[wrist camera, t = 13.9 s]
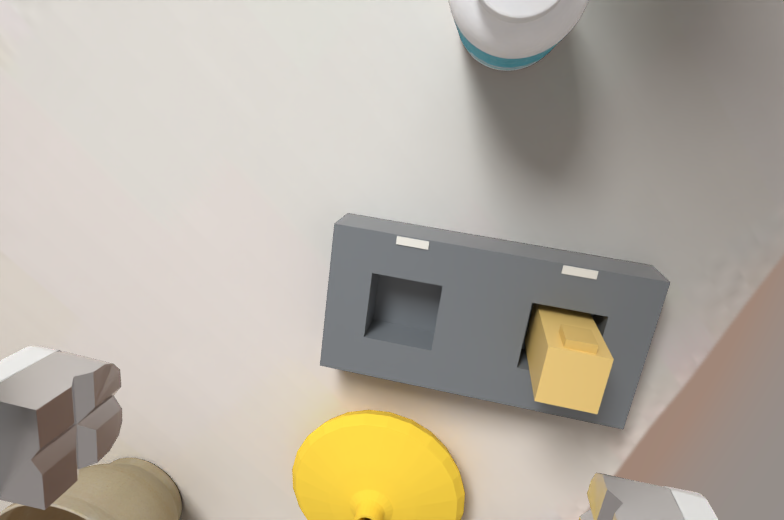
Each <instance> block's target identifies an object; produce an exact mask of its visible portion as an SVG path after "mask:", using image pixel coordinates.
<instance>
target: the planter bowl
mask: <svg viewBox="0 0 784 520" xmlns="http://www.w3.org/2000/svg"><path fill="white" fill-rule="evenodd" d="M181 511H182V502H181V497H180V494H179V491H178V489H177V487H176V485H175V484H174V482H173V481H172V480H171V478H170V477H169V476H168V475H167V474H166V473H165V472H164V471H162V470H161V469H160V468H158V467H157V466H155V465H153V464H152V463H150V462H147V461H145V460H141V459H137V458H122V459H118V460H116V461H113V462H112V463H110V464H99V465H93V466H88V467H84V468H81V469H79V474H78V481H77V482H75V483H74V484H73V485H72V486H71V487H70V488H69V489H68V490H67V491H66V492H64V493H63V494H62V495H61V496H60V497H59V498H58V499H57V500H56V501H55V502H53V503H52V504H51V505H50V506H49V507H48V508H47V509H46V510H42V509H38V508H34V507H29V506H25V505H21V504H17V503H13V504H12V505H10V506H8V507H7V508H6V509H4V510H3V511H2V512H0V520H179V518H180V516H181Z"/></svg>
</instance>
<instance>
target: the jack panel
mask: <svg viewBox="0 0 784 520" xmlns="http://www.w3.org/2000/svg"><path fill="white" fill-rule="evenodd" d="M669 285H670V282H669V281H668V280H667V279H666V278H665V277H664V276H663V275H662V274H661V273H660V272H659V271H658V270H657V269H656V268H655V267H653V266H652V265H647V264H641V263H635V262H629V261H624V260H618V259H612V258H606V257H600V256H595V255H589V254H583V253H577V252H571V251H565V250H560V249H554V248H548V247H542V246H536V245H530V244H525V243H519V242H513V241H507V240H501V239H496V238H490V237H484V236H478V235H472V234H466V233H461V232H455V231H449V230H443V229H437V228H431V227H426V226H420V225H414V224H408V223H402V222H397V221H391V220H385V219H379V218H373V217H367V216H362V215H356V214H350V213H347V214H346V215H345V216H344V217H342V218H341V219H340V220H338V221H337V222H336V223H335V224H334V233H333V243H332V252H331V262H330V272H329V282H328V291H327V301H326V311H325V321H324V331H323V340H322V350H321V360H320V366H325V367H330V368H335V369H339V370H344V371H349V372H354V373H358V374H363V375H368V376H373V377H377V378H382V379H387V380H392V381H396V382H401V383H406V384H411V385H415V386H420V387H425V388H429V389H434V390H439V391H444V392H448V393H453V394H458V395H463V396H467V397H472V398H477V399H482V400H486V401H491V402H496V403H501V404H505V405H510V406H515V407H520V408H524V409H529V410H534V411H539V412H543V413H548V414H553V415H557V416H562V417H567V418H572V419H576V420H581V421H586V422H591V423H595V424H600V425H605V426H610V427H614V428H619V429H624V425H625V422H626V419H627V416H628V413H629V410H630V407H631V404H632V400H633V397H634V394H635V391H636V388H637V385H638V382H639V379H640V375H641V372H642V369H643V366H644V363H645V360H646V357H647V353H648V350H649V347H650V344H651V341H652V338H653V335H654V332H655V328H656V325H657V322H658V319H659V316H660V313H661V310H662V307H663V303H664V300H665V297H666V294H667V291H668V288H669ZM534 303H537V304H542V305H547V306H553V307H558V308H564V309H569V310H574V311H580V312H585V313H590V314H591V316H592V318H593V320H594V322H595V324H596V326H597V328H598V330H599V331H600V333H601V335H602V337H603V339H604V341H605V343H606V345H607V347H608V349H609V351H610V353H611V355H612V357H613V359H614V360H613V364H612V367H611V370H610V374H609V377H608V380H607V384H606V387H605V390H604V394H603V397H602V400H601V404H600V407H599V410H598V414H594V413H589V412H584V411H579V410H574V409H570V408H565V407H560V406H555V405H551V404H546V403H541V402H536V401H534V395H533V389H532V383H531V377H530V371H529V365H528V360H527V354H526V348H525V337H526V333H527V329H528V325H529V321H530V316H531V312H532V308H533V304H534Z"/></svg>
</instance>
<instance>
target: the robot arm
mask: <svg viewBox="0 0 784 520" xmlns="http://www.w3.org/2000/svg"><path fill="white" fill-rule="evenodd" d="M120 388H121V376H120V369H119V368H118V367H116V366H115V365H114V364H113V363H109V362H105V361H101V360H97V359H93V358H89V357H85V356H81V355H77V354H73V353H69V352H62V351H60V350H56V349H52V348H47V347H43V346H28V347H26V348H24V349H22V350H20V351H18V352H16V353H14V354H12V355H10V356H8V357H6V358H4V359H2V360H0V500H4V501H8V502H12V503H17V504H21V505H25V506H29V507H34V508H38V509H42V510H46V509H47V508H48V507H49V506H50V505H51V504H52V503H53V502H55V501H56V500H57V499H58V498H59V497H60V496H61V495H62V494H63V493H64V492H66V491H67V490H68V489H69V488H70V487H71V486H72V485H73V484H74V483H75V482H77V481H78V474H79V469H81V468H84V467H87V466H89V465H92V464H94V463H97V462H98V461H99V460H100V459H102V458H103V457H104V456H105V455H106V454H107V453H108V452H109V451H110V449H111V448H112V446H113V444H114V442H115V441H116V439H117V437H118V435H119V432H120V428H121V424H122V408H121V406H120V405H119V403H118V402H117V400H116V398H115V397H114V395H115V394H116V392H117V391H118V390H119V389H120ZM587 495H588V499H589V503H590V507H591V509H590V510H589V511H587V512H586V513H584V514H583V515H581V516H580V518H579V520H718V518H717V517H716V515H715V513H714V511H713V510H712V508H711V506H710V504H709V503H708V501H707V499H706V498H705V497H704V496H702V495H701V494H700V493H698V492H692V491H687V490H682V489H677V488H672V487H667V486H664V487H662V486H657V485H652V484H648V483H643V482H639V481H634V480H629V479H624V478H619V477H615V476H610V475H606V474H601V473H596V474H595V475H594V477H593V478H592V480H591V483H590V486H589V489H588V492H587Z"/></svg>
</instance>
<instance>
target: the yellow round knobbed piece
mask: <svg viewBox="0 0 784 520" xmlns="http://www.w3.org/2000/svg"><path fill="white" fill-rule="evenodd" d="M292 472H293V489H294V492H295V495H296V498H297V501H298V504H299V507H300V508H301V510H302V512H303V513H304V515H305V517H306V518H307V520H461V517H462V515H463V512H464V498H465V492H464V488H463V484H462V480H461V475H460V472H459V470H458V468H457V465H456V464H455V462H454V460H453V458H452V457H451V455H450V453H449V451H448V450H447V448H446V447H445V446H444V445H443V444H442V443H441V442H440V441H439V440H438V439H437V438H436V436H435V435H434V434H433V433H432V432H430V431H429V430H427V429H426V428H424V427H422V426H421V425H419V424H418V423H416V422H415V421H413V420H411V419H408V418H405V417H402V416H400V415H397V414H394V413H391V412H383V411H375V410H363V411H355V412H347V413H345V414H342V415H340V416H337V417H335V418H332V419H330V420H328V421H327V422H325V423H324V424H322V425H321V426H320V427H319V428H317V429H316V430H315V431H314V432H312V433H311V434H310V435H309V436H307V438H306V439H305V441H304V442H303V444H302V445H301V447H300V448H299V450H298V451H297V455H296V458H295V462H294V466H293V469H292Z"/></svg>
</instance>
